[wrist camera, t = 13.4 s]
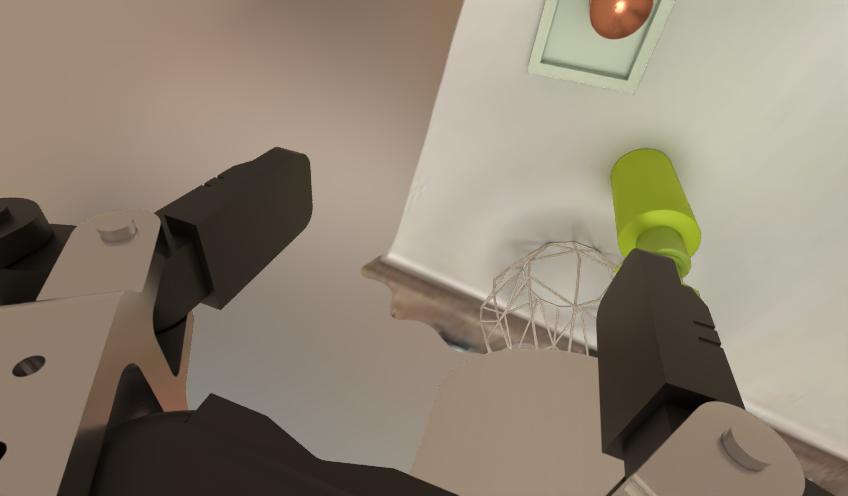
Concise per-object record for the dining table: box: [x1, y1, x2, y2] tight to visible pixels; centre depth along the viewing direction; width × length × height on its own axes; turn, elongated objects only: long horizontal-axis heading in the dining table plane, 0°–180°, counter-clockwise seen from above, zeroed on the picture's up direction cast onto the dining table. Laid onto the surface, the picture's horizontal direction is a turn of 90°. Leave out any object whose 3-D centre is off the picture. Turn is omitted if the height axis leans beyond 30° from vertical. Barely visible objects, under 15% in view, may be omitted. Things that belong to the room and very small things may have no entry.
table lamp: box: [409, 242, 625, 496], centre depth 37 cm, size 22×22×40 cm
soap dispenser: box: [611, 149, 701, 297], centre depth 34 cm, size 6×7×20 cm
